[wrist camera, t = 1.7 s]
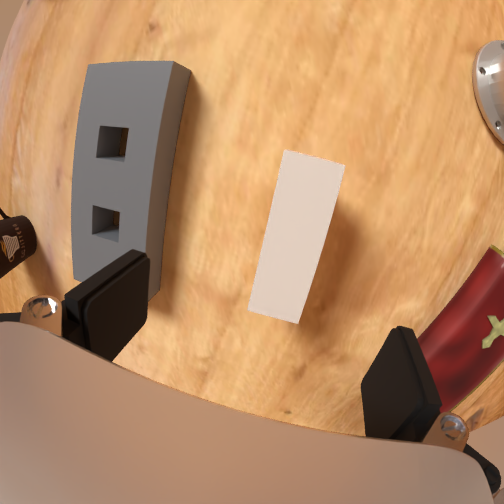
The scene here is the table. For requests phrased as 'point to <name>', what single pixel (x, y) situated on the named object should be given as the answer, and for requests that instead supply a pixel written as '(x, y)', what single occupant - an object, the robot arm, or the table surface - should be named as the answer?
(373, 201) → the table surface
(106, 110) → the gray rectangular slab
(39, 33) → the table surface
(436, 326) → the hardcover book
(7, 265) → the coffee mug
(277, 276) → the two-legged white block
